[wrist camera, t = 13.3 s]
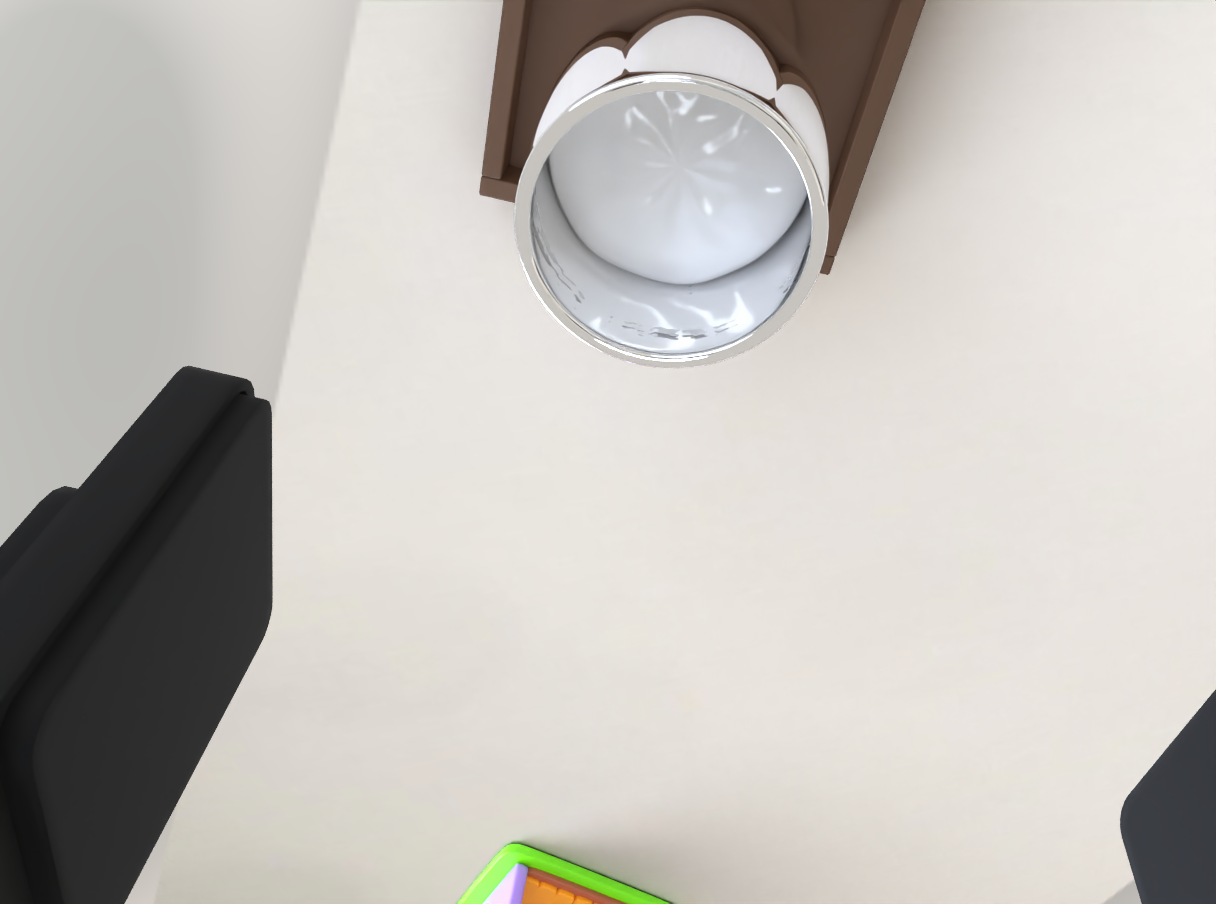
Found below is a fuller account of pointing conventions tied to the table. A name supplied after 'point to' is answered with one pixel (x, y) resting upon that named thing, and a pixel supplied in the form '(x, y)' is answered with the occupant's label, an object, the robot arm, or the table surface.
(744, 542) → the table surface
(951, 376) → the table surface
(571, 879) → the dollhouse room
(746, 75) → the beer glass
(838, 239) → the tray
